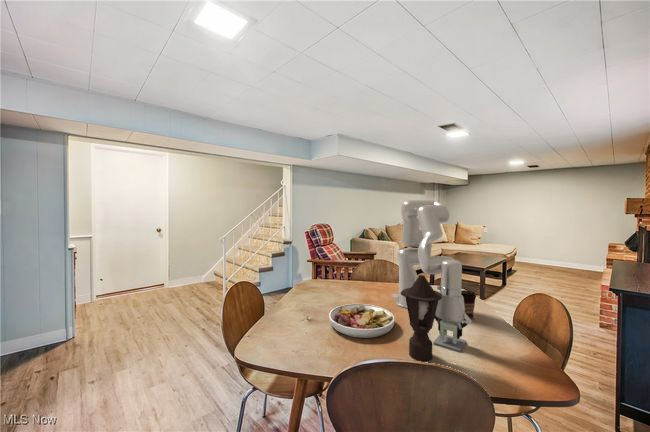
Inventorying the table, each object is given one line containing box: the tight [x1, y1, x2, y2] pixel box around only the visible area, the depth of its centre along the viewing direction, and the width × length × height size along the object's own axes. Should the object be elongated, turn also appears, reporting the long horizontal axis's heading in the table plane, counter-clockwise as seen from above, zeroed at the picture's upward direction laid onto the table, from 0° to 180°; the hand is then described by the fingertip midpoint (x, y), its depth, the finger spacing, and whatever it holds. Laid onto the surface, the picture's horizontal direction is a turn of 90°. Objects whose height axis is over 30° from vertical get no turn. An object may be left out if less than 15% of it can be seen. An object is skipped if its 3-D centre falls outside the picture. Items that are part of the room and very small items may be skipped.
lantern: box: [401, 274, 442, 363], centre depth 103 cm, size 15×15×30 cm
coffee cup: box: [461, 289, 477, 321], centre depth 138 cm, size 9×8×13 cm
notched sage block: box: [439, 319, 458, 344], centre depth 113 cm, size 6×6×7 cm
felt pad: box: [432, 334, 467, 353], centre depth 113 cm, size 10×10×1 cm
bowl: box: [328, 303, 395, 339], centre depth 130 cm, size 30×30×8 cm
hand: (449, 334), depth 113 cm, fingers closed on notched sage block, 6 cm apart
